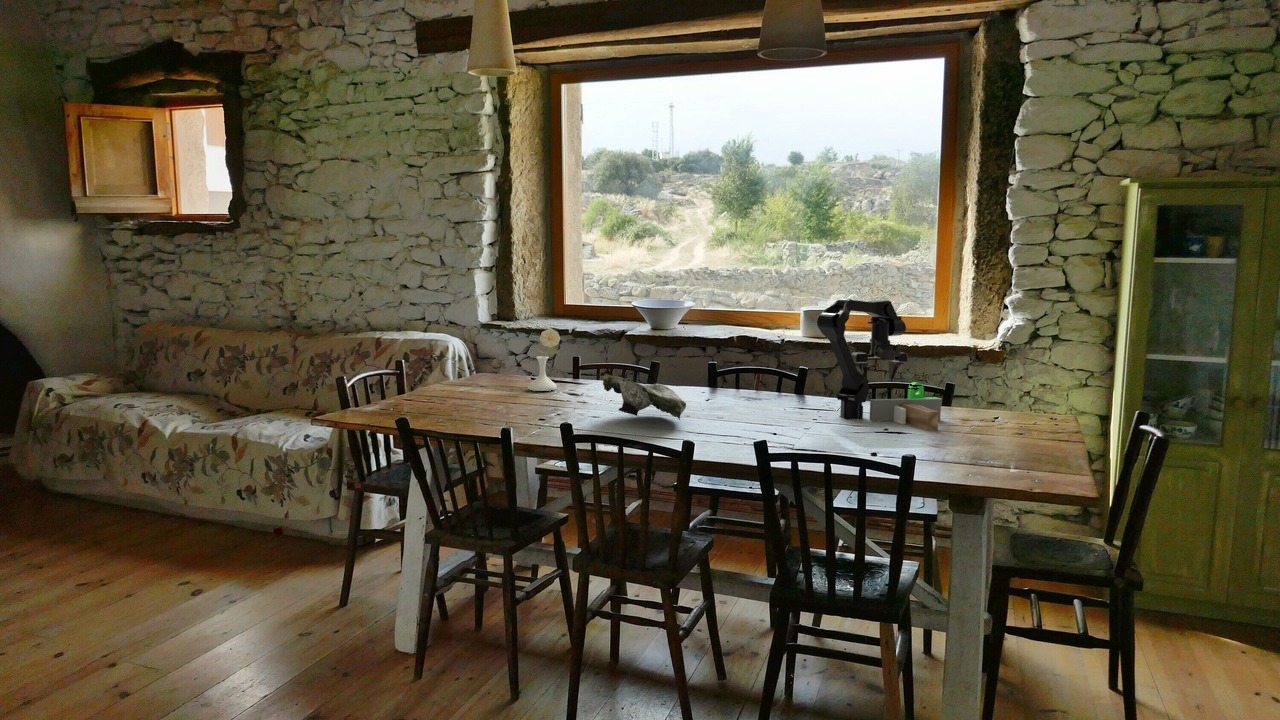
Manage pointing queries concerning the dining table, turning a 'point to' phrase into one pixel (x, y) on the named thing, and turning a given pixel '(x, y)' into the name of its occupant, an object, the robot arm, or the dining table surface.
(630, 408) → the rock
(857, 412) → the robot arm
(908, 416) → the rail
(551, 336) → the flower in vase
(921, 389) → the mechanical part
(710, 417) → the dining table surface
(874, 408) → the slab with two fins
